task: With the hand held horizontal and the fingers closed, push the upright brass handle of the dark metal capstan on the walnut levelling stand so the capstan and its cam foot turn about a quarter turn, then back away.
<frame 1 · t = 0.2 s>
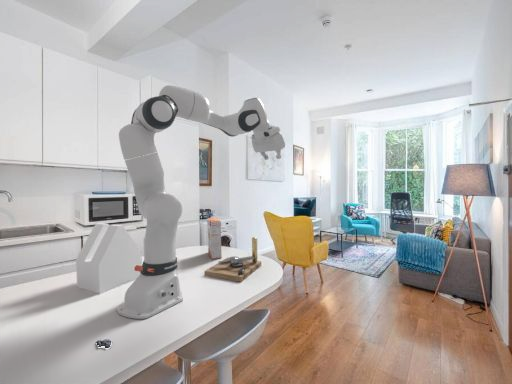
hand: (272, 158, 128), 53 cm above the table, tool tilted 25°, fingers open, 8 cm apart
blueberries: (101, 348, 69), on the table
stand: (234, 270, 124), on the table
milk carton: (111, 282, 112), on the table
capstan: (238, 252, 125), point 8 cm above the table, hinge at 0.0°
cracker box: (214, 255, 148), on the table
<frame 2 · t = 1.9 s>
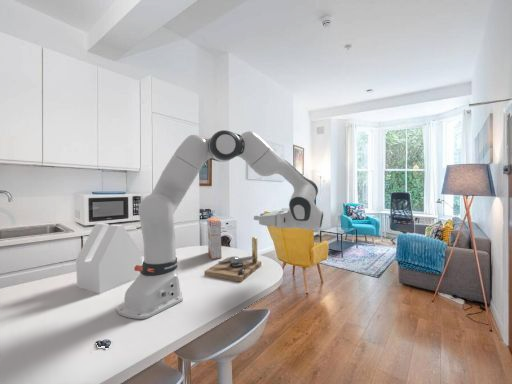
hand: (257, 216, 121), 26 cm above the table, tool horizontal, fingers open, 6 cm apart
nothing on the table moved.
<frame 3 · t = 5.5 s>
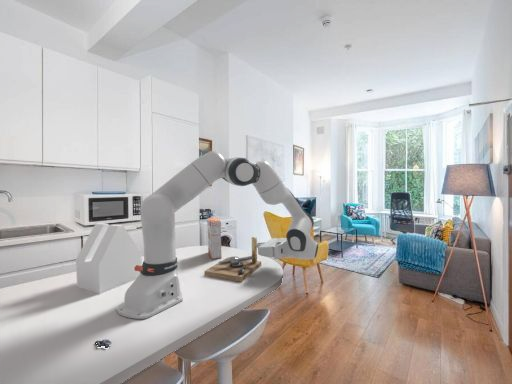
hand: (256, 244, 128), 11 cm above the table, tool horizontal, fingers closed, pressing on capstan
capstan: (238, 252, 125), point 8 cm above the table, hinge at 1.8°, touching gripper
everything else where it was.
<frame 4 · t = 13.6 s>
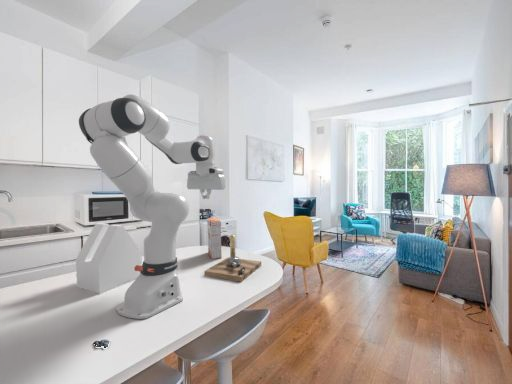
hand: (205, 198, 126), 34 cm above the table, tool pointing down, fingers closed
capstan: (233, 251, 126), point 8 cm above the table, hinge at 71.7°
everything else where it was.
at the end: capstan at +72° (first picture: +0°); capstan touching nothing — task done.
